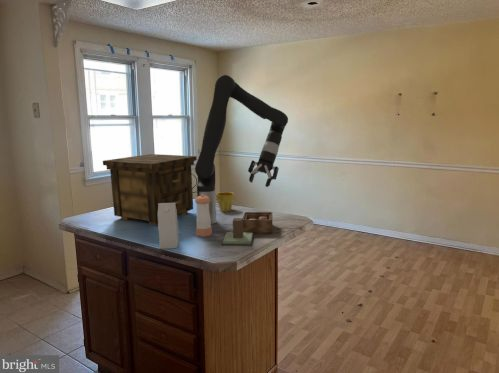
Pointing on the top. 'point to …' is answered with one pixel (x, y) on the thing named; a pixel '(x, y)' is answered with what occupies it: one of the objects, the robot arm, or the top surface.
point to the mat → (239, 244)
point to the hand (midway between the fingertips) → (258, 184)
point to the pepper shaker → (203, 216)
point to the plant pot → (225, 200)
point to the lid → (238, 234)
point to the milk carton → (167, 225)
